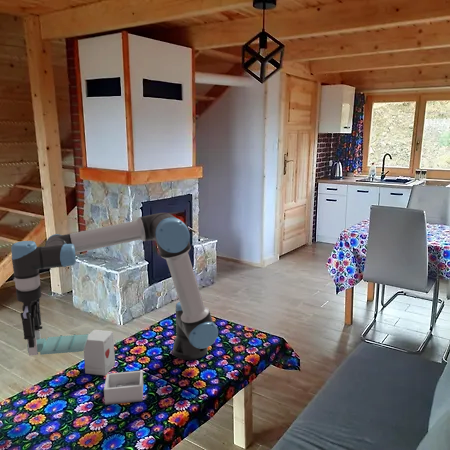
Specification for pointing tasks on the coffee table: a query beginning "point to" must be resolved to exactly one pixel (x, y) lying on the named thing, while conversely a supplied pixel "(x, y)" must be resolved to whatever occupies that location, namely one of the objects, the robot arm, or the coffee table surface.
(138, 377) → the tub
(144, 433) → the coffee table surface
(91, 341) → the supplement box
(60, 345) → the lid
